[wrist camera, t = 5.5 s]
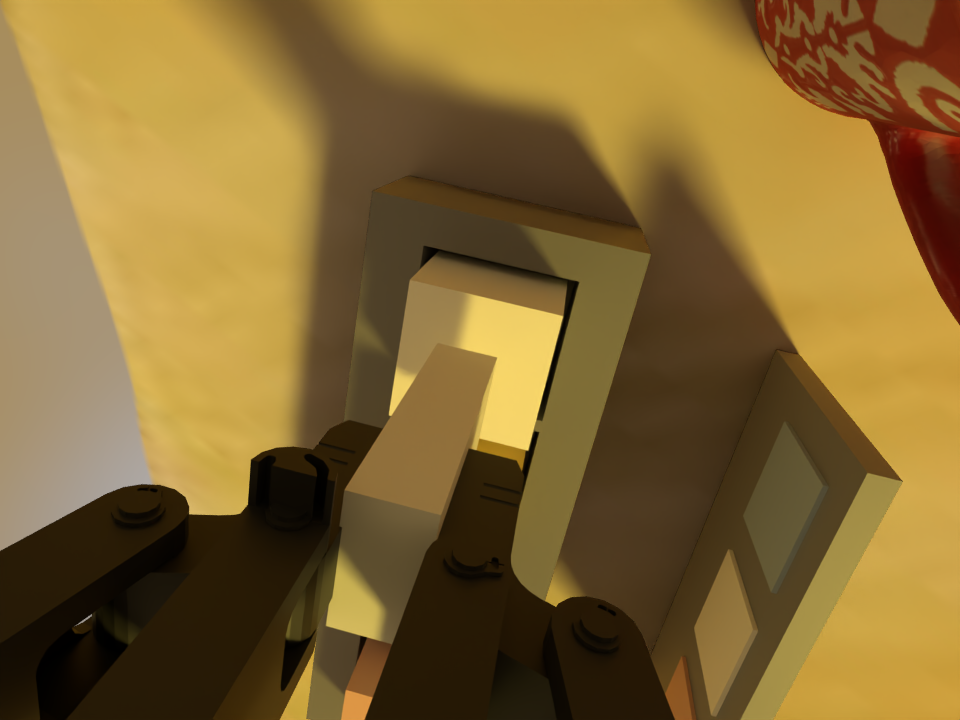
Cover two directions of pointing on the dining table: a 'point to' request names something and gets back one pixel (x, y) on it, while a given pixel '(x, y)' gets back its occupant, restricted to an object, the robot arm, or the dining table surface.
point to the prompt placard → (772, 551)
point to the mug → (887, 100)
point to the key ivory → (485, 334)
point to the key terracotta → (365, 679)
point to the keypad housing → (572, 375)
